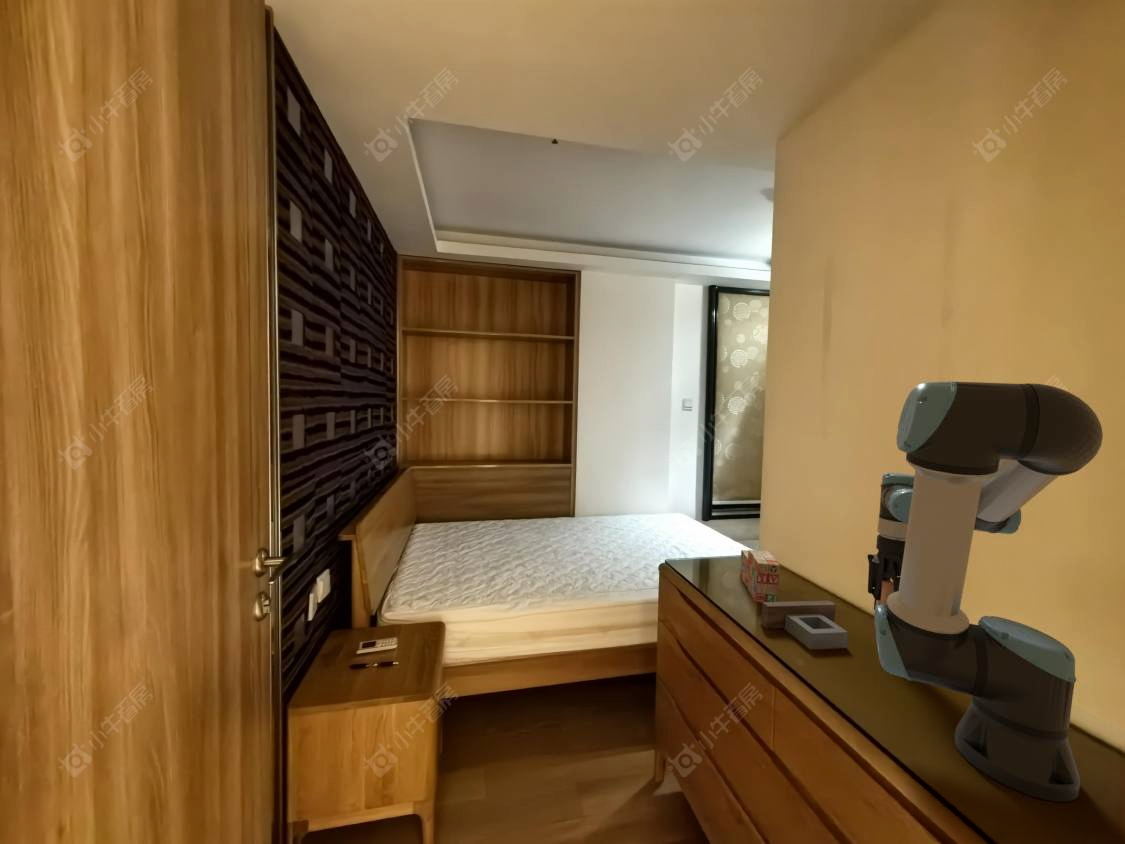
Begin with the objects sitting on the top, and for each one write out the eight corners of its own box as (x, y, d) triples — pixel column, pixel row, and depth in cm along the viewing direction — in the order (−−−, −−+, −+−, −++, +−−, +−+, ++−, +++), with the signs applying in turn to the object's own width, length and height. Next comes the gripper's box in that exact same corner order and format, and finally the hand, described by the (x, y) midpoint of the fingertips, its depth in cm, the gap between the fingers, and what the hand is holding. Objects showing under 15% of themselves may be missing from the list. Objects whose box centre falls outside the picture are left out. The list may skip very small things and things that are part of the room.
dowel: (896, 644, 113) (901, 587, 112) (876, 638, 115) (881, 582, 115) (897, 638, 116) (902, 583, 115) (878, 633, 119) (883, 578, 118)
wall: (834, 626, 127) (835, 604, 126) (766, 628, 124) (768, 606, 123) (827, 621, 129) (829, 600, 129) (761, 624, 126) (762, 602, 126)
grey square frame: (846, 647, 116) (848, 632, 115) (810, 649, 114) (811, 633, 114) (818, 627, 125) (819, 613, 125) (784, 629, 124) (785, 614, 124)
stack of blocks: (739, 576, 161) (741, 540, 160) (758, 578, 160) (761, 542, 159) (755, 602, 140) (758, 562, 139) (777, 605, 139) (780, 564, 138)
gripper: (942, 547, 107) (933, 647, 108) (880, 527, 124) (873, 614, 125) (913, 547, 106) (905, 649, 107) (855, 527, 122) (848, 615, 123)
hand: (887, 630), depth 116 cm, fingers closed on dowel, 4 cm apart
